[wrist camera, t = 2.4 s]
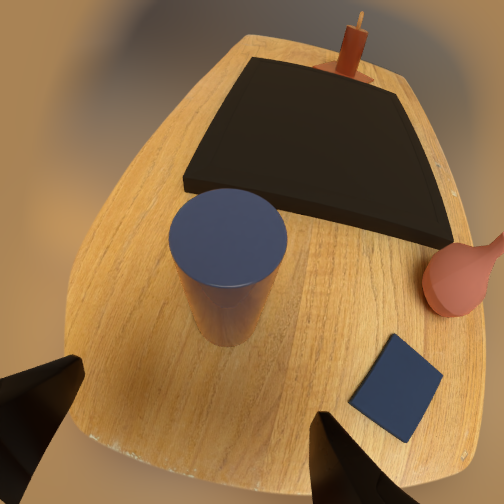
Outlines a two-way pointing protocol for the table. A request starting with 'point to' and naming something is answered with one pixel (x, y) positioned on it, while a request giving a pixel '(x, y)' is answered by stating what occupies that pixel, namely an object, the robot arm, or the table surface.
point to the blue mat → (397, 389)
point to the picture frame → (322, 152)
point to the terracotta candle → (351, 49)
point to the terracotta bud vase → (460, 277)
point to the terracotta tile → (331, 68)
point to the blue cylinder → (227, 260)
